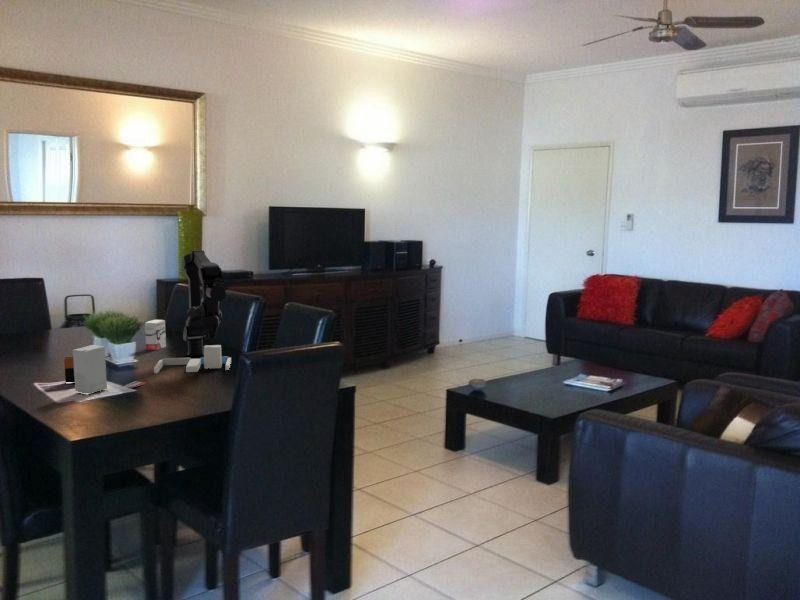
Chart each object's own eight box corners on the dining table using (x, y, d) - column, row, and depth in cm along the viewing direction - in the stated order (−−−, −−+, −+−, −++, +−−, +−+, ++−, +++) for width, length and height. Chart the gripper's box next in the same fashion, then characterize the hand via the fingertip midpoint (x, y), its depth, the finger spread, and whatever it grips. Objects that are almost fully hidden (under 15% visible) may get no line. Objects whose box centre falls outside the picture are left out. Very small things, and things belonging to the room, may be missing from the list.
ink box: (156, 350, 303) (155, 322, 302) (145, 350, 304) (144, 322, 303) (166, 346, 312) (165, 319, 310) (155, 346, 313) (154, 319, 311)
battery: (87, 383, 248) (85, 354, 246) (65, 385, 245) (63, 356, 244) (88, 380, 252) (86, 352, 250) (66, 382, 249) (64, 353, 248)
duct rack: (160, 364, 276) (159, 358, 276) (231, 362, 280) (231, 356, 280) (154, 373, 262) (153, 366, 262) (228, 370, 267) (228, 363, 266)
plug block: (205, 366, 274) (204, 345, 273) (221, 365, 275) (221, 345, 274) (204, 368, 270) (203, 347, 269) (220, 368, 271) (220, 347, 270)
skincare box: (94, 388, 241) (92, 344, 239) (108, 390, 239) (105, 345, 237) (74, 394, 234) (71, 348, 232) (87, 396, 231) (85, 350, 229)
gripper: (191, 295, 277) (192, 336, 279) (185, 302, 259) (186, 345, 261) (221, 295, 279) (222, 335, 281) (217, 301, 260) (218, 344, 262)
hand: (212, 339), depth 271 cm, fingers closed
